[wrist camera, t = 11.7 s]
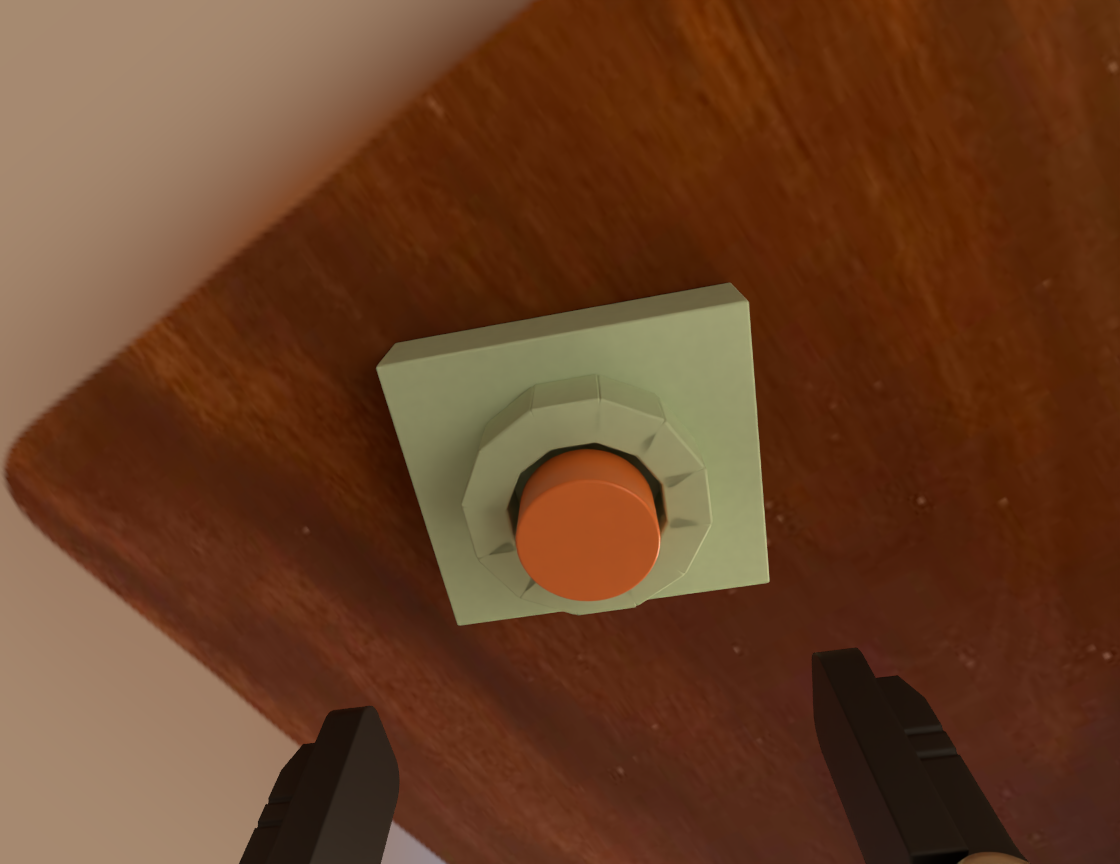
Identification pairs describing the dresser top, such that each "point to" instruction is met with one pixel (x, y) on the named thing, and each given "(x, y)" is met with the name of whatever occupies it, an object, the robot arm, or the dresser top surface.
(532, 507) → the button
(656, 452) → the button block
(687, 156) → the dresser top surface
